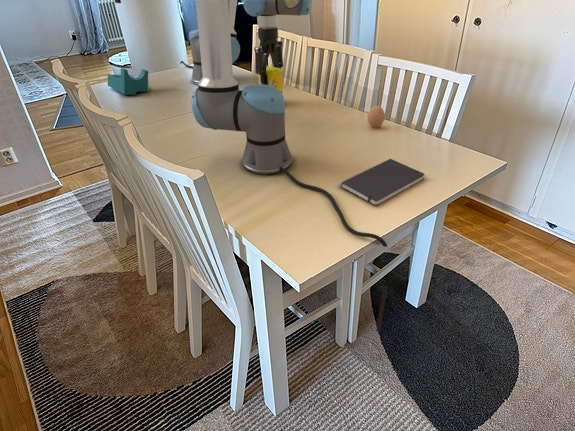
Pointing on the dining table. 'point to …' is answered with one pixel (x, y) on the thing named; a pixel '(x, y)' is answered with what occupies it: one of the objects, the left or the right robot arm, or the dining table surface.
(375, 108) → the egg
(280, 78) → the canister
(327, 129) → the dining table surface
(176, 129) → the dining table surface
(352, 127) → the dining table surface
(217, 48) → the right robot arm
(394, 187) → the notebook
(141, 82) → the green cradle holder
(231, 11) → the left robot arm
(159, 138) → the dining table surface
